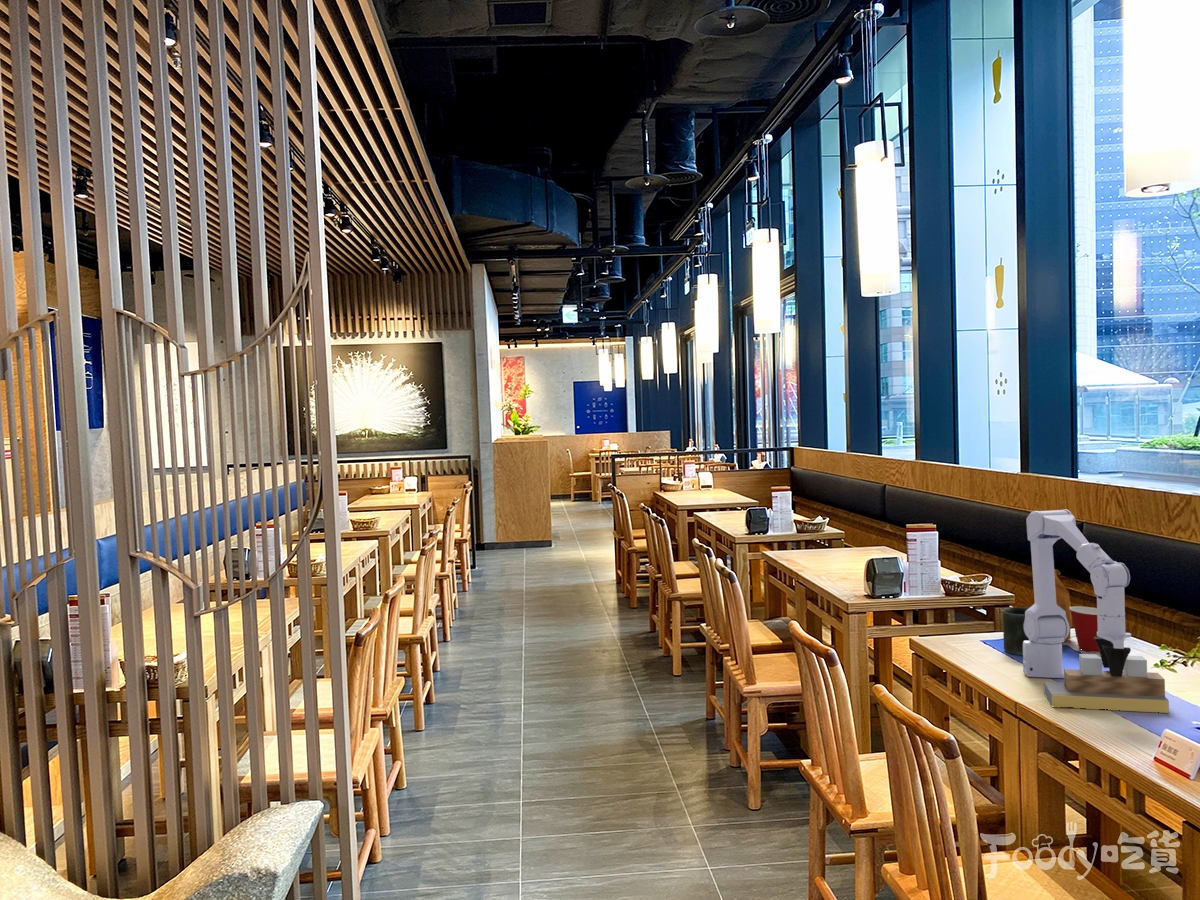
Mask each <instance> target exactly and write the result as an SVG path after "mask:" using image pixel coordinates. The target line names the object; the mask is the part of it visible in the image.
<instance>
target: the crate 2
mask: <svg viewBox="0 0 1200 900" xmlns="http://www.w3.org/2000/svg"><path fill="white" fill-rule="evenodd" d="M1123 672H1124V673H1125V674H1126V675H1127V676H1128V677H1147V672H1148V660H1147V659H1146V658H1145V657H1144V656H1143V655H1128V656H1127V659H1126V661H1125V665H1124V669H1123Z"/></svg>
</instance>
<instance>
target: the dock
mask: <svg viewBox="0 0 1200 900" xmlns="http://www.w3.org/2000/svg"><path fill="white" fill-rule="evenodd" d="M1043 689H1044V691H1043V693H1045V694H1044V695H1046V696H1047V697H1046V696H1045V697H1046V699H1047V698H1048V699H1047V700H1049V701H1048V703H1049V702H1050V703H1051V704H1050V703H1049V704H1050V706H1051V705H1052V706H1056V707H1055V708H1060V707H1074V708H1073V709H1080V708H1086V709H1085V710H1099V709H1105V710H1106V709H1108V710H1107V711H1119V710H1120V711H1121V712H1123V711H1124V712H1141V713H1142V712H1144V713H1158V712H1159V713H1162V714H1170V703H1169V702H1170V701H1169V699H1168V698H1167V697H1166V695H1165V696H1143V695H1122V694H1100V693H1079V692H1068V689H1066V687H1065V686H1064V681H1063V682H1062V681H1061V682H1060V681H1059V682H1058V681H1044V682H1043ZM1052 706H1051V707H1052ZM1105 710H1104V711H1105Z"/></svg>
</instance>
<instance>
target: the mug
mask: <svg viewBox="0 0 1200 900" xmlns="http://www.w3.org/2000/svg"><path fill="white" fill-rule="evenodd" d="M1029 608H1030V607H1022V606H1021V607H1019V606H1017V607H1016V606H1015V607H1005V608H1002V609H1001V610H1000V611H1001V612H1000V613H1002V625H1003V626H1002V631H1003V635H1002V637H1003V649H1004V651H1005V652H1006V653H1008V654H1010V655H1011V654H1012V655H1018V656H1023V641H1027V640H1029V638H1028V637H1027V636H1026V634H1025V632H1024V621H1025V611H1026V610H1027V609H1029Z"/></svg>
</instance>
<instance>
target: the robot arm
mask: <svg viewBox="0 0 1200 900" xmlns="http://www.w3.org/2000/svg"><path fill="white" fill-rule="evenodd" d="M1076 523H1077V522H1076V517H1075V516H1074V515H1073V513H1072V512H1071V511H1070V510H1069V509H1067V508H1066V509H1056V510H1055V509H1054V510H1053V509H1052V510H1032V511H1031V512H1030V513H1029V514H1028V515H1027V517H1026V523H1025V524H1026V534H1027V541H1029V542H1030V552H1031V553H1030V554H1031V567H1032V569H1031V570H1032V582H1033V583H1032V584H1033V594H1034V595H1033V596H1034V597H1033V599H1034V603H1033V604H1032V605H1031V606H1030V607H1028V608H1029V609H1027V610H1026V611H1025V621H1024V632H1025V634H1026V636H1027V637H1028V638H1029V640H1027V641H1023V655H1022V670H1023V672H1024V673H1025V675H1026V677H1028V678H1045V679H1046V678H1049V679H1050V678H1051V679H1064V667H1063V666H1064V664H1063V643H1064V642H1065V641H1066V640H1065V638H1066V637H1067V636H1068V634H1069V623H1068V621H1067V618H1066V612H1065V611H1064V610H1063V609H1062V608H1060V607H1059V606H1058V605H1057V604H1056V589H1055V575H1054V569H1055V559H1054V548H1053V546H1054V544H1055V543H1056V542H1057V541H1058V540H1060V539H1063V540H1064V541H1065V542H1066V543H1067V544H1068V545H1069V546H1070V547H1071V548H1072V549H1073V550H1074V551H1075V552H1076V554H1075V555H1076V559H1077V560H1078V562H1079V563H1080V564H1081V565H1082V566H1083V567H1084V568H1085V569H1086V570H1087V572H1089V574H1090V575H1089V576H1090V581H1091V584H1092V587H1093V592H1094V595H1096V608H1097V623H1098V631H1097V636H1098V637H1094V640H1095V641H1096V643H1097V646H1098V648H1099V654H1100V655H1099V656H1100V658H1101V659H1102V667H1103V668H1105V669H1109V670H1108V671H1110V674H1111V676H1112V677H1122V674H1123V669H1124V665H1125V661H1126V659H1127V656H1130V655H1129V654H1131V651H1132V649H1131V648H1130V647H1125V644H1124V643H1125V640H1126V639H1127V638H1132V633H1130V632H1126V611H1125V610H1126V609H1125V608H1126V605H1125V604H1126V602H1125V601H1126V600H1125V599H1126V596H1125V588H1126V587H1128V586H1129V584H1130V581H1131V575H1130V569H1129V568H1128V567H1127V566H1126V564H1125V563H1123V562H1117V561H1116V560H1113V559H1112V558H1111V557H1110V556H1109V555H1108V554H1107V553H1106V552H1105V551H1104V550H1103V549H1102V548H1101V546H1100V545H1099V543H1095V542H1089V541H1088V540H1087V538H1086V537H1085V536H1084V534H1083V533H1082V532H1081V531H1080V529H1079V528H1078V526H1077V524H1076ZM1044 615H1053V616H1044Z"/></svg>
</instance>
